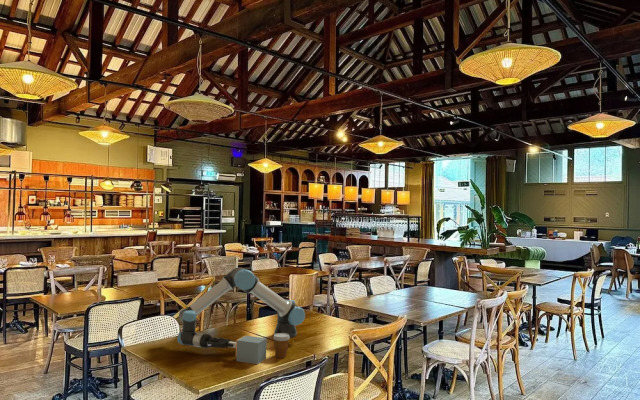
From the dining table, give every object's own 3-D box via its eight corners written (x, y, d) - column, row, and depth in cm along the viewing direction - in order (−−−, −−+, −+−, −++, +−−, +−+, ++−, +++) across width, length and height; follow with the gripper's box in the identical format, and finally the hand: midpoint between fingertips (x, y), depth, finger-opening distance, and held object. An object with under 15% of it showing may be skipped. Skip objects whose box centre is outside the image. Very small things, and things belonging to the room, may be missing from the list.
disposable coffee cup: (282, 360, 247) (283, 338, 247) (269, 356, 252) (269, 335, 252) (292, 355, 255) (293, 334, 255) (279, 352, 260) (279, 331, 260)
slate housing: (235, 360, 243) (236, 340, 243) (244, 355, 252) (245, 335, 253) (257, 364, 238) (258, 343, 239) (266, 358, 248) (266, 338, 249)
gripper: (208, 344, 261) (244, 349, 253) (195, 350, 248) (233, 355, 241) (209, 331, 261) (245, 335, 253) (196, 336, 249) (233, 341, 241)
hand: (239, 345), depth 247 cm, fingers closed
